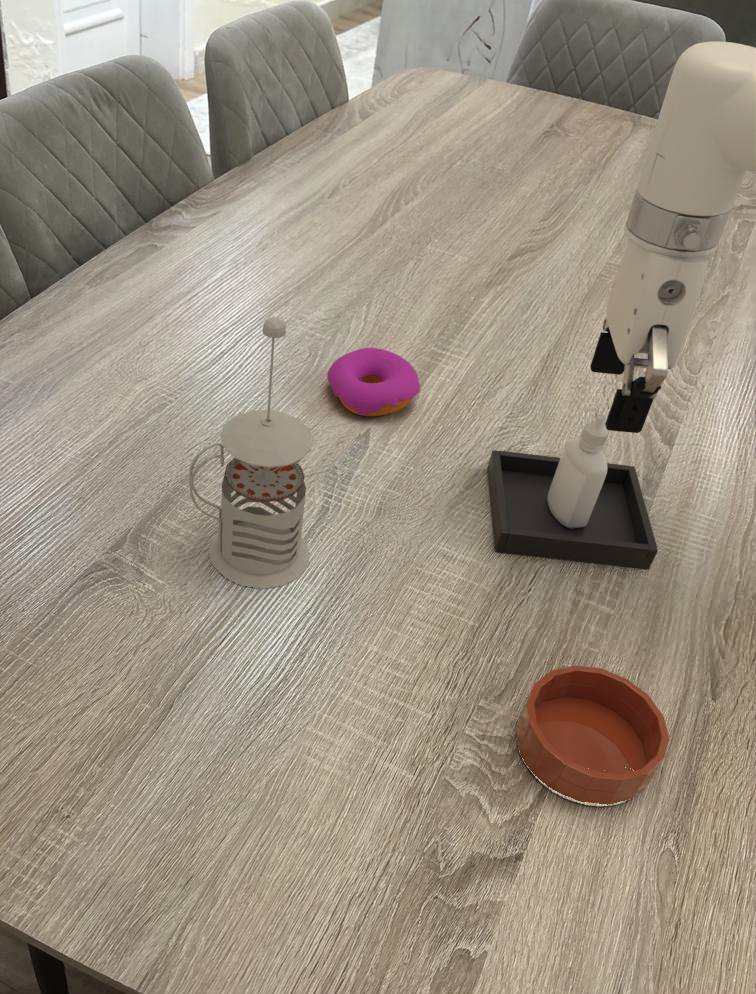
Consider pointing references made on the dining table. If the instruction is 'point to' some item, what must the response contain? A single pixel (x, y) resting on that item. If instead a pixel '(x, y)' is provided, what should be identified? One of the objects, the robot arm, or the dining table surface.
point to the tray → (536, 532)
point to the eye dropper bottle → (579, 476)
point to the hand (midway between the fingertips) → (613, 399)
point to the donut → (373, 381)
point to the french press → (261, 493)
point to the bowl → (591, 735)
